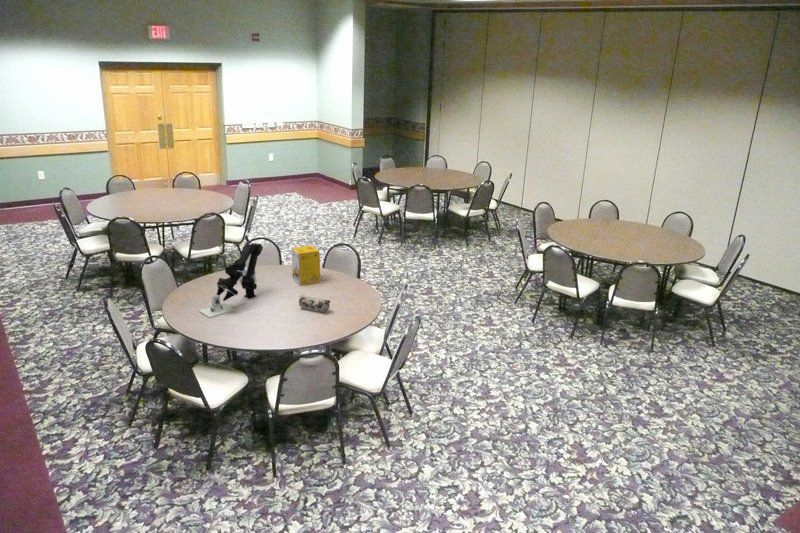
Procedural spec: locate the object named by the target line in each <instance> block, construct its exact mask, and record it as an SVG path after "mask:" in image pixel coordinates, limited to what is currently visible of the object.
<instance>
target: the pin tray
mask: <svg viewBox="0 0 800 533" xmlns="http://www.w3.org/2000/svg"><path fill="white" fill-rule="evenodd" d="M220 306H221V310H219V311H216V312H215V311H214V308H212V306H210V307H207V308H203V309H200V310H198V313H200V314H201V315H203V316H204V317H206V318H208V319H213V318H215V317H218V316H222V315H225V314H229V313H233V312H235V310H236V309H234V308H233V307H231V306H229V305H227V304H226V303H220Z"/></svg>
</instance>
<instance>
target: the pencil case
mask: <svg viewBox="0 0 800 533" xmlns="http://www.w3.org/2000/svg"><path fill="white" fill-rule="evenodd" d="M298 297H299V298H298V306H299V307H300V308H302V309H305V310H308V311H314V312H319V313H323V314H324V313H325V314H328V313H329V311H330V310H329V309H330V303H331V301H330V299H329V300H328V299H323V298H321V299H320V298H316V297H312V296H311V297H310V296H306V295H304V294H299V296H298Z"/></svg>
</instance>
